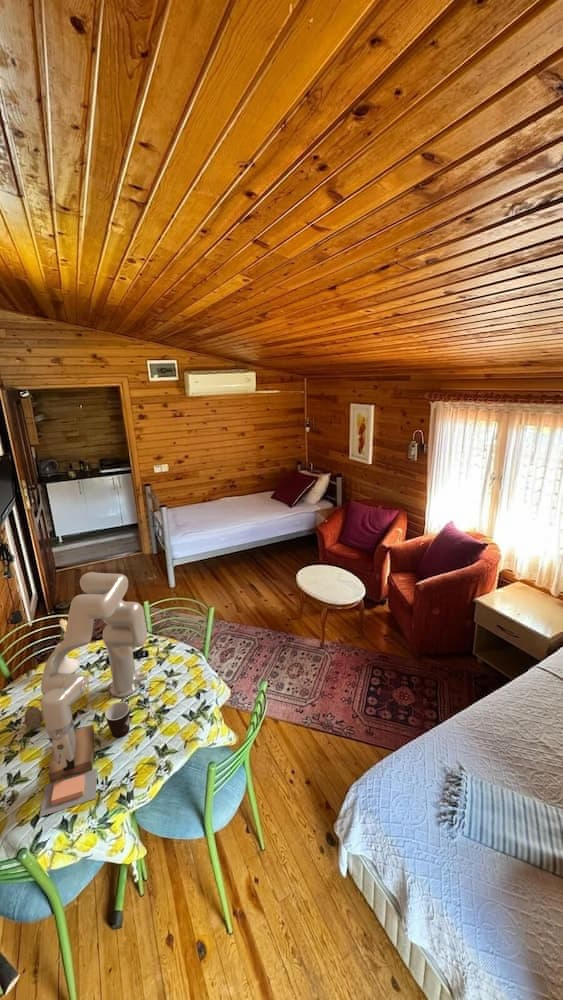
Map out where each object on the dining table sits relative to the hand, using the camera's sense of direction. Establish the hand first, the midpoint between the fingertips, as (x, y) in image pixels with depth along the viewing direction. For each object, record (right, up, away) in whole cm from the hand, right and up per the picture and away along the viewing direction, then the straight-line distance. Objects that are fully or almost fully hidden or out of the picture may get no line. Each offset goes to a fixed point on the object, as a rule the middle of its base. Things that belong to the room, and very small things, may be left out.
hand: (69, 767), depth 137 cm
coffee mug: (+11, +2, +20) cm, 23 cm away
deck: (-3, -2, +9) cm, 10 cm away
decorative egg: (-24, +2, +21) cm, 32 cm away
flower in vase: (-28, +11, +51) cm, 59 cm away
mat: (+2, -6, -3) cm, 7 cm away
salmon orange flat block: (+2, -4, -4) cm, 6 cm away
